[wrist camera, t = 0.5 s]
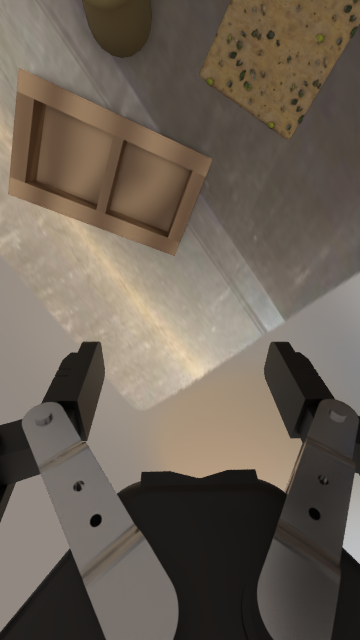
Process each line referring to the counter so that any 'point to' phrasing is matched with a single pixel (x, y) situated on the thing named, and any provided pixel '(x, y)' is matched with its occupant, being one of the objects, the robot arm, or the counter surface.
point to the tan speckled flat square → (278, 55)
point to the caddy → (101, 166)
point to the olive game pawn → (119, 24)
